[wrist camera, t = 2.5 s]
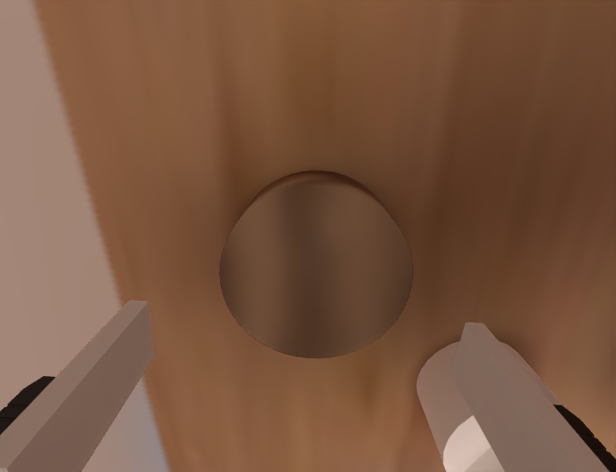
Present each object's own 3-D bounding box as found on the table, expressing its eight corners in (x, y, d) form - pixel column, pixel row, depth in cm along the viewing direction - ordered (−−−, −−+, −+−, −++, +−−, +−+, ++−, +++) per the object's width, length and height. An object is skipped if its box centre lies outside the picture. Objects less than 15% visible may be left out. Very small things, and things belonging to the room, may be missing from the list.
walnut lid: (405, 177, 21) (431, 194, 17) (379, 318, 25) (394, 364, 20) (238, 163, 21) (217, 177, 17) (238, 307, 25) (221, 351, 20)
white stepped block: (463, 320, 25) (586, 486, 14) (549, 367, 26) (725, 554, 15) (395, 396, 28) (450, 588, 16) (476, 435, 29) (579, 636, 18)
